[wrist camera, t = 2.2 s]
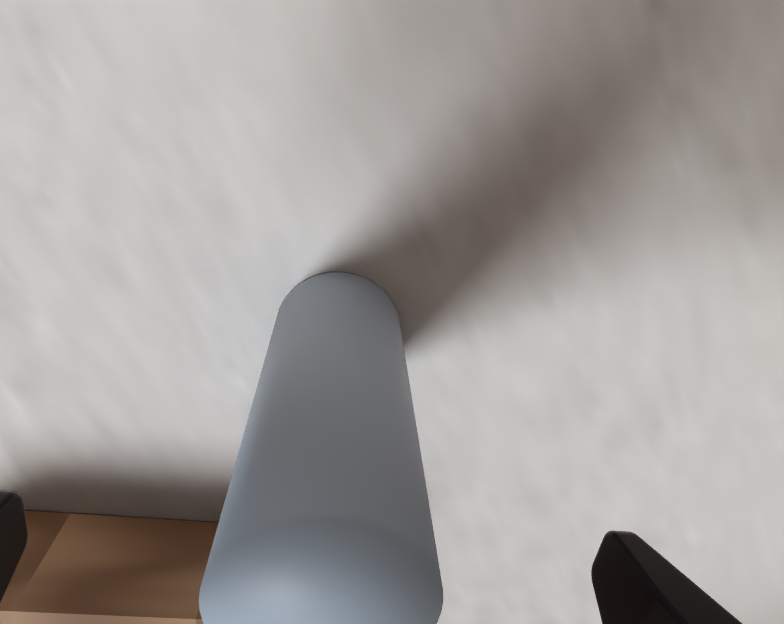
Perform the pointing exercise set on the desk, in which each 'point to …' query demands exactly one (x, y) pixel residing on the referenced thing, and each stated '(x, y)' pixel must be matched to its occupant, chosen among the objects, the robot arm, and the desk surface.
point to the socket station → (108, 570)
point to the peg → (328, 475)
